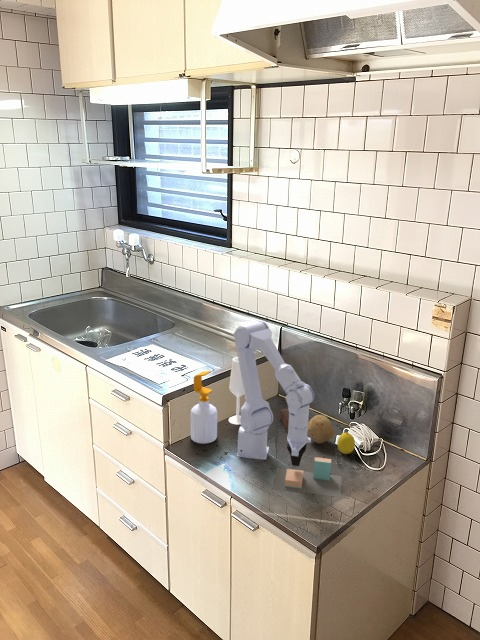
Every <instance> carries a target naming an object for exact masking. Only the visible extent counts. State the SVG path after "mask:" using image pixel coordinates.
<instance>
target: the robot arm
mask: <svg viewBox="0 0 480 640" xmlns="http://www.w3.org/2000/svg"><path fill="white" fill-rule="evenodd" d="M272 335H273V332H272V330H271V329H270V327H269V325H268V324H267V322H266V321H264V320H258V321H256V322H253V323H252V322H251V323H249V324H245V325H239V326H237V328H236V329H235V331H234V332H233V339H234V343H235V348H236V353H237V357H238V360H239V366H240V371H241V377H242V383H243V388H244V394H243V395H244V400H245V401H244V403H243V404H242V406H241V408H240V412H239V413H240V416H241V418H240V423H241V424H240V426H239V429H238V432H237V433H238V434H237V455H236V456H237V457H240V458H241V457H242V458H247V459H254V460H255V459H256V460H263V461H265V460H267V457H268V454H269V450H270V447H269V446H267V445H268V429H270V425H271V424H273V422H274V414H273V411H272V410H271V407H270V403H269V402H268V401H266V400H264V399H263V393H262V390H261V383H260V378H259V373H258V366H257V362H256V356H255V352H256V350H259V351H260V352H261V353H262V354H263V355H264V357H265V358H266V359H267V360H268V362H269V363H270V364H271V366H272V368H274V370H275V371H274V377H275V378H276V380H277V381H278V383H279V385H280V386H281V387H282V389H283V390H284V392H285V394H286V395H285V401H286V404H287V408H288V410H289V426H288V432H287V436H286V437H287V439H286V440H287V444H286V449H287V450H288V452H289V455H290V462H291V466H293V467H299V466H300V464H301V461H302V458H303V455H304V454H305V452H306V450H307V444H308V443H309V444H311V442H312V438H311V437H309V436H308V432H307V431H308V423H309V416H310V404H311V403H313V401H314V399H315V392H314V390H313V389H312V387H311V386H310V385H309V384H307V383H305V382H304V381H302V380H301V378H300V377H299V375H298V373H297V372H296V371H295V369H294V368H293V366H292V365H291V364H289V363H286V362H285V361H284V359H283V357H282V356H281V354H280V352H279V350H278V348H277V347H276V345H275V344H276V343H274V341H273V339H272Z"/></svg>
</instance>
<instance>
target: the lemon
mask: <svg viewBox="0 0 480 640" xmlns="http://www.w3.org/2000/svg"><path fill="white" fill-rule="evenodd" d="M355 443H356V441H355V438H354V436H353V435H352V434H351V433H349V432H343V433H341V434H340V435H339V437H338V439H337V448H338V451H339V452H340V453H342V454H344V455H347V454H348V455H349V454H351V453H352V452H353V451H354V449H355V445H356V444H355Z"/></svg>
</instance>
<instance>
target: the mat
mask: <svg viewBox="0 0 480 640" xmlns="http://www.w3.org/2000/svg"><path fill="white" fill-rule="evenodd" d="M287 469H288V468H280V467H279V468H278V467H277V468H276V470H275V474H274V478H273V483H272V489H273V490H280V491H281V490H282V491H288V492H296V493H304V494H311V495H319V496H326V497H333V498H342V475H335V474H330V480H322V479H314V478H313V473H314V472H311V471H304V473H303V482H302V489H301V488H294V487H286V486H285V478H286V472H287Z"/></svg>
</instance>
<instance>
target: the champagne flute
mask: <svg viewBox="0 0 480 640" xmlns="http://www.w3.org/2000/svg"><path fill="white" fill-rule="evenodd" d="M228 388H229V391H230V392H231V393H232V394H233V395H234V396H235V397H236V405H235V406H236V407H235V408H236V409H235V412H236V413H235V415H233V416H230V417H229V418H228V422H229V423H230V424H233V425H241V423H240V418H241V414H240V413H241V412H240V409H241V408H240V405H241V397H242V396H243V395H245V394H244V388H243V383H242V377H241V371H240V366H239V360H238V356H235V357H233V358H232V361H231V369H230V379H229V386H228Z"/></svg>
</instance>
